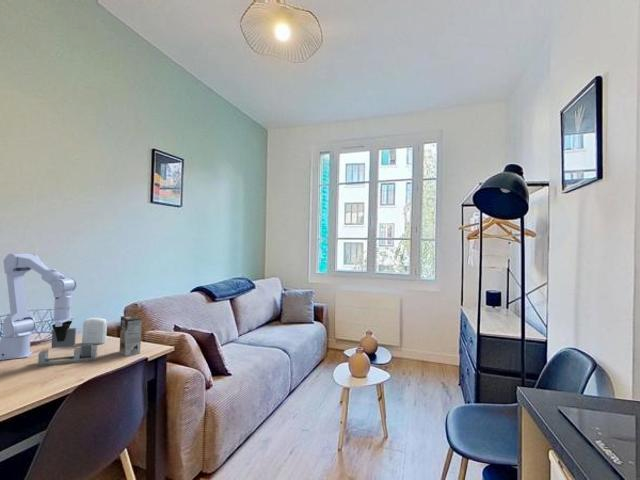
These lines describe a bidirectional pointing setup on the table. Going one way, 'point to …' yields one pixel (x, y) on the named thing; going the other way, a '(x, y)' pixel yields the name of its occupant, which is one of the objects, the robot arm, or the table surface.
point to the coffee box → (130, 335)
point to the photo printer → (94, 331)
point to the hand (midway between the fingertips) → (61, 340)
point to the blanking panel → (68, 340)
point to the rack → (80, 354)
